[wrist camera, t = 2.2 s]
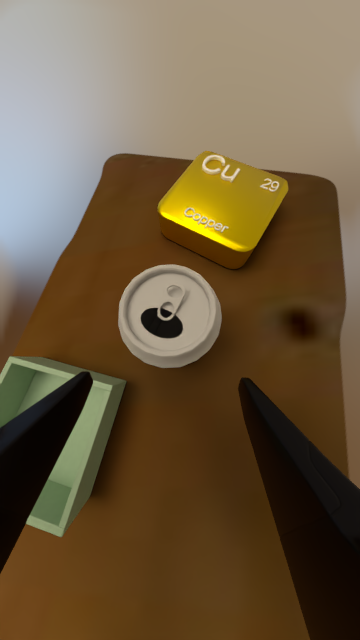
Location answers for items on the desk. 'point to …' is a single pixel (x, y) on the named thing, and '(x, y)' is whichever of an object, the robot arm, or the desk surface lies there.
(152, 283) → the can
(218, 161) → the element tile
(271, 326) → the desk surface
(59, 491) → the tray
